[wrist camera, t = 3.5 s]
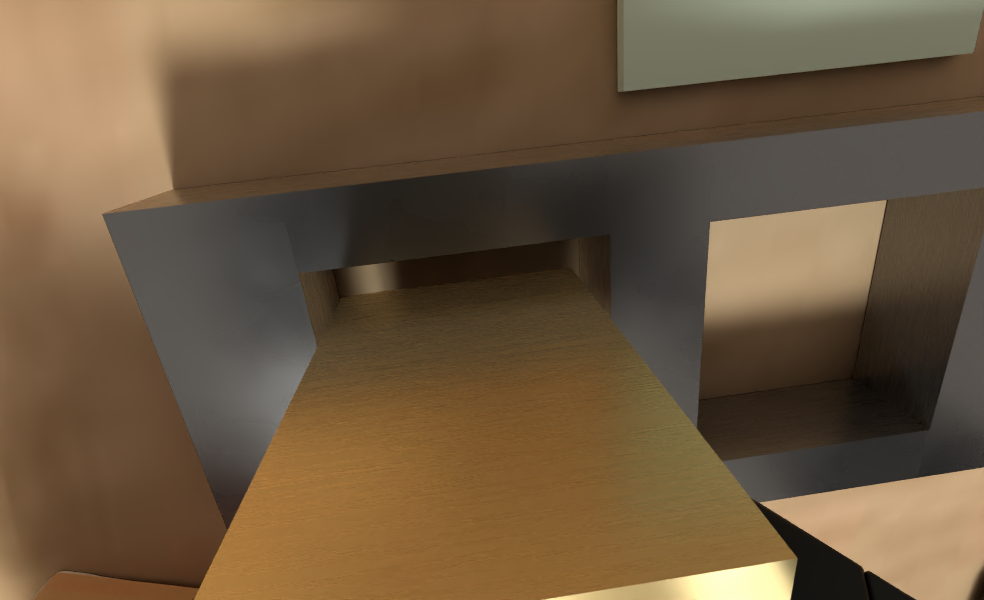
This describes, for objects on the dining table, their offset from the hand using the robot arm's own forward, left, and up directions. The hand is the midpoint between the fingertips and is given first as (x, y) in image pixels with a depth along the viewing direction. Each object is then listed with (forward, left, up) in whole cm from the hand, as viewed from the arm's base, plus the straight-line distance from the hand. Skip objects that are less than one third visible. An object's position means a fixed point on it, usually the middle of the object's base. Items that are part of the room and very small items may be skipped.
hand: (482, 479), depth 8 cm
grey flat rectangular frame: (-4, 0, -5) cm, 7 cm away
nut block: (0, 0, -3) cm, 3 cm away
